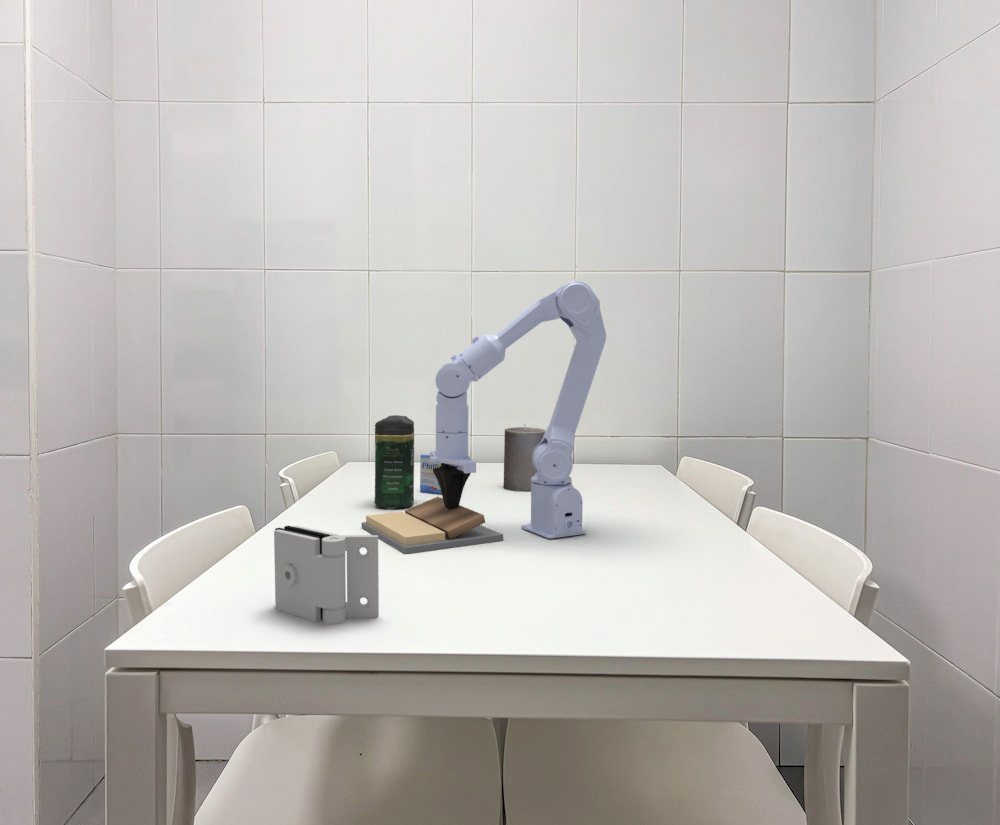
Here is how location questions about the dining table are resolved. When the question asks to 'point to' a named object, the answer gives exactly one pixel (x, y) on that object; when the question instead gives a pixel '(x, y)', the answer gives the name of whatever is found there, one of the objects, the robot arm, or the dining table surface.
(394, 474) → the coffee jar
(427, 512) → the walnut plank
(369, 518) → the base board
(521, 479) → the pillar candle
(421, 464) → the medicine box
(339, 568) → the hinge
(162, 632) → the dining table surface
